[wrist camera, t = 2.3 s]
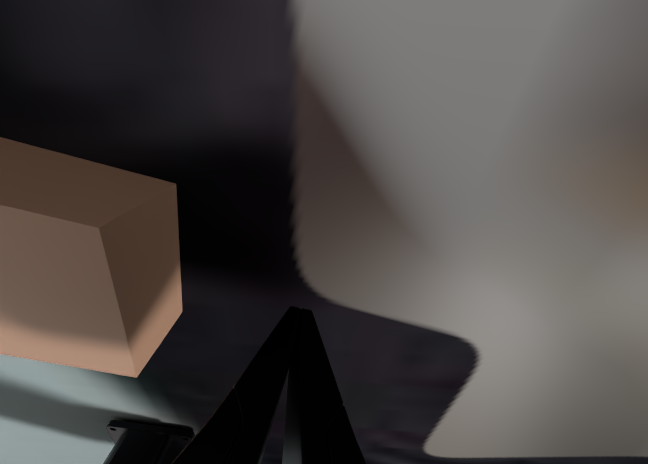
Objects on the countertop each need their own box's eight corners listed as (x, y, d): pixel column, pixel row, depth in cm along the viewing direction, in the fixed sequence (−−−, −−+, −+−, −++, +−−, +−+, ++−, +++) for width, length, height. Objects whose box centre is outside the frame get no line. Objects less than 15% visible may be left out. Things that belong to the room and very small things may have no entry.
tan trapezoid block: (185, 307, 12) (136, 377, 9) (37, 276, 11) (-69, 341, 8) (180, 181, 9) (98, 227, 6) (-34, 124, 8) (-262, 143, 5)
